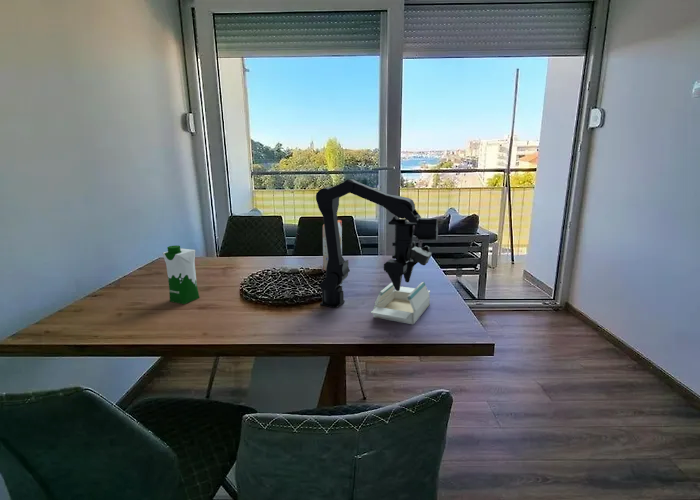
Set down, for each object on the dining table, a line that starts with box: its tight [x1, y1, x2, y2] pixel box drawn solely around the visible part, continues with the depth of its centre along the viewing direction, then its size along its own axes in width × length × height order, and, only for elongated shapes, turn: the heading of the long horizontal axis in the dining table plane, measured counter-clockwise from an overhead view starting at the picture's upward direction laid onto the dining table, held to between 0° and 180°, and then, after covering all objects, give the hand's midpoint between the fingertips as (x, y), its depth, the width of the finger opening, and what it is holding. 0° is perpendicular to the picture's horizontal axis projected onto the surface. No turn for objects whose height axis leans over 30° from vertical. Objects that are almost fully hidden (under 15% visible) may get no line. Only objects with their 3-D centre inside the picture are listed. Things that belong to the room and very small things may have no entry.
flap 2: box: [407, 281, 431, 311], centre depth 124 cm, size 1×15×5 cm, turn 153°
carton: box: [370, 286, 431, 325], centre depth 128 cm, size 13×26×4 cm, turn 153°
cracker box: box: [322, 219, 343, 272], centre depth 177 cm, size 14×6×21 cm, turn 168°
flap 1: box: [374, 282, 395, 306], centre depth 129 cm, size 1×15×5 cm, turn 153°
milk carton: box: [162, 245, 200, 305], centre depth 139 cm, size 9×9×20 cm
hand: (402, 286), depth 126 cm, fingers open, 9 cm apart
